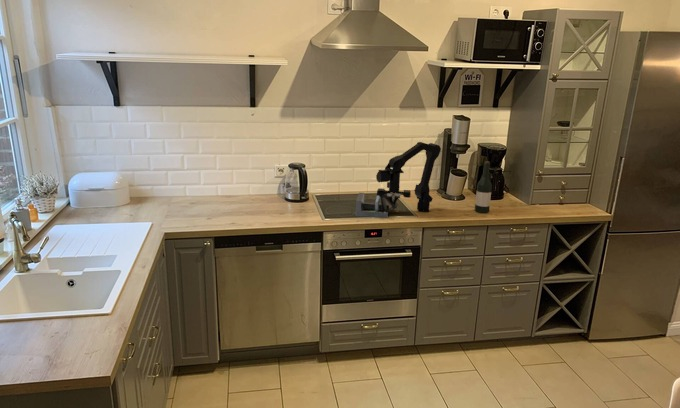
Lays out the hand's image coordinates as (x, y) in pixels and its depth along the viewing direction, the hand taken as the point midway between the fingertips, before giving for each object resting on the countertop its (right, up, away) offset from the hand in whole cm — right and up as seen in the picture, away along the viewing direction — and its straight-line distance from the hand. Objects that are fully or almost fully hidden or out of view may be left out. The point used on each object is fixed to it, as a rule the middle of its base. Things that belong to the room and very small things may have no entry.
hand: (392, 207), depth 292 cm
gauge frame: (-10, -3, +2) cm, 11 cm away
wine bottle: (+53, -3, +11) cm, 54 cm away
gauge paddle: (-10, -4, -1) cm, 10 cm away
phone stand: (-1, -1, +2) cm, 3 cm away
